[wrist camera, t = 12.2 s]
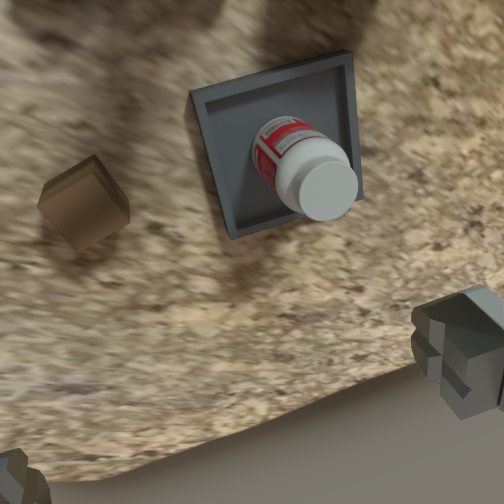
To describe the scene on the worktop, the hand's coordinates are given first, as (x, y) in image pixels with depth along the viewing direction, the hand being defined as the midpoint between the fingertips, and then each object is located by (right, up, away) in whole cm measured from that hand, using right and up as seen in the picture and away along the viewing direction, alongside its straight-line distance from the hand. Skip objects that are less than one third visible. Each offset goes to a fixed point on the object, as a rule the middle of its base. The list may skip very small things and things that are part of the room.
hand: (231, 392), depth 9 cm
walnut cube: (-14, +8, +32) cm, 36 cm away
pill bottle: (+3, +13, +34) cm, 36 cm away
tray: (+3, +13, +34) cm, 36 cm away
